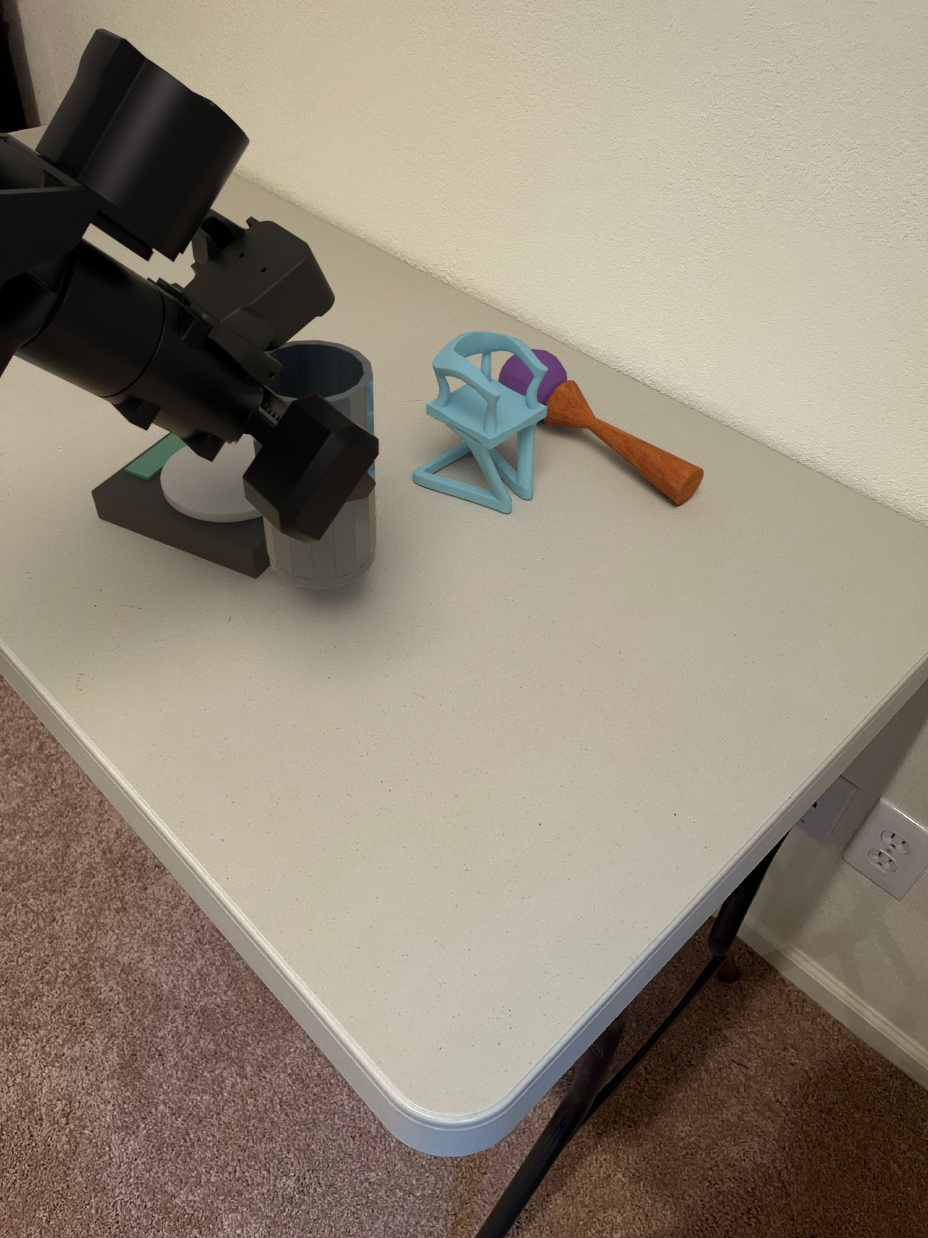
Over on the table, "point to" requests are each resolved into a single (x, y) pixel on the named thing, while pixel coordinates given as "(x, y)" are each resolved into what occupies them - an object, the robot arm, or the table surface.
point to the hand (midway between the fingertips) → (335, 460)
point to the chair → (485, 419)
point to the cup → (354, 528)
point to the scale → (190, 503)
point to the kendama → (601, 426)
